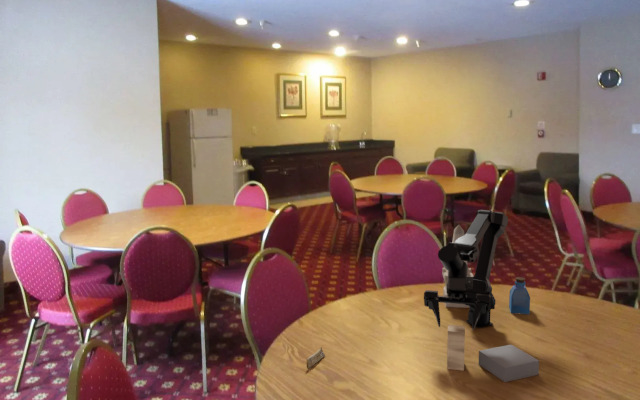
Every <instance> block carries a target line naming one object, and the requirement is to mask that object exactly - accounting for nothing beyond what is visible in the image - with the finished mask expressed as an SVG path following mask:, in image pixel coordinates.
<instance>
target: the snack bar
mask: <svg viewBox="0 0 640 400" xmlns="http://www.w3.org/2000/svg"><path fill="white" fill-rule="evenodd" d="M324 357H326V354H325V352H324V351H323V346H321V347H320V348H319V349H318V350H316V352H314V353H313V354H311V355H310V356H309V357H307V358H306V369H307V370H309V369H311V368H312V367H313V366H315V364H316V363H318V362H319V361H320V360H321V359H324Z"/></svg>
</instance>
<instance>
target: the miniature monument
mask: <svg viewBox="0 0 640 400" xmlns="http://www.w3.org/2000/svg"><path fill="white" fill-rule="evenodd" d="M464 235H465V231H464V229H463V228H462V227H461V225H460V224H458V225H457V226H455V228H454V229H453V235H452V242H451V243H454V242H455V241H456V240H457V239H458V238H459V237H462V236H464ZM464 262H465V263H466V264H467V265H469V264H468V261H464ZM441 274H442V277H443V281H444V282H445V285H444V286H443V289H442V290H443V291H442V293H443V295H442V296H447V284H448V270H447V269H445V267H442V272H441ZM467 277H474V274H473V273H472V268H471V267H470V268H469V267H468V275H467ZM444 305H445V308H467V309H468V308H469V306H468V305H465V304H457V303H444Z"/></svg>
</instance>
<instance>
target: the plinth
mask: <svg viewBox="0 0 640 400" xmlns="http://www.w3.org/2000/svg"><path fill="white" fill-rule="evenodd" d="M478 366H480V367H482V368H483V369H485V370H486V371H487V372H490V373H491V374H492V375H494V376H495V377H496V378H498V379H499V380H501V381H502V382H504V383H508V382H512V381H516V380H521V379H525V378H530V377H533V376H538V375H539V371H540V360H539V359H537V358H536V357H534V356H533V355H530V354H528V352H527V353H526V352H525V351H524V350H521V349H520V348H518V347H516V346H515V345H514V344H505V345H502V346H496V347H495V346H494V347H490V348H486V349H481V350H478Z"/></svg>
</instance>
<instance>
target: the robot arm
mask: <svg viewBox="0 0 640 400" xmlns="http://www.w3.org/2000/svg"><path fill="white" fill-rule="evenodd" d="M508 223H509V218H508V216H507V215H506V213H505V212H501V211H493V210H488V209H486V210H485V209H479V210H477V211H476V214H475V218H474V219H473V221H472V222H471V224H470V226H469V228H468V229H467V231H466V232H465V233H464V236H462V237H459V238H458V239H457V240H456V241H455V242H454V243H452V242H451V241H450V242H448V243H447V244H446V245H444V246H443V247H441V248H440V250H438V253H437V257H438V259H439V261H440V262H441V263H442V266H443V268H445V269H447V270H448V284H447V296H443V295H440V294H439V291H438V290H427V289H426V290H425V291H424V292H423V303H424V304H423V305H424V307H426V308H427V307H428V310H432V312H433V314H434V317H435V320H436V322H437V325H438V328H441V314H440V313H441V312H440V303H442V304H443V303H444V304H445V303H457V304H465V305H468V306H469V309H468V310H467V311H468V313H467V314H468V315H467V319H466V323H468V324H469V325H472V328H471V329H472V331H475V328H477V329H478V328H479V329H480V328H485V327H491V326H494V323H493V322H491V311H492V310H494V309H495V307H496V298H495V296H494V294H493V293H492V292H493V288H492V285H491V282H490V278H491V277H490V276H491V273H492V268H493V262H494V257H495V252H496V247H497V243H498V239H499V238H500V237H502V235H503V234H504V233H505V229H506V227H507V226H508ZM480 241H481V245H480V248H479V244H480ZM476 259H477V262H476V268H475V273H474V274H473V276H474V277H467V275H468V268H469V266H468V265H469V264H468V263H467V264H468V265H467V264H466V263H465V262H464V261H467V262H470V263H474V262H475V261H476Z"/></svg>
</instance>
